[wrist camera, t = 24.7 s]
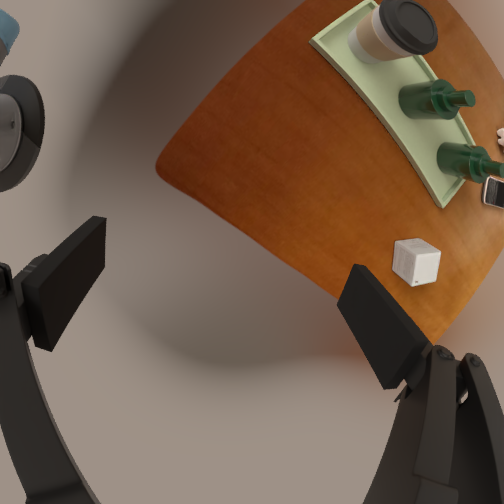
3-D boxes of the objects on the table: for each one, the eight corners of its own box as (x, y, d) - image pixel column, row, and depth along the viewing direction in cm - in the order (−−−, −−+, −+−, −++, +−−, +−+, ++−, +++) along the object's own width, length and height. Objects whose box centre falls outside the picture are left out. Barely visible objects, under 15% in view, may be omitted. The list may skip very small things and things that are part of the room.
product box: (415, 266, 52) (436, 282, 45) (390, 270, 51) (411, 287, 45) (419, 237, 50) (442, 251, 43) (394, 239, 49) (416, 254, 42)
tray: (307, 42, 36) (311, 38, 34) (364, 0, 32) (370, -4, 31) (436, 205, 48) (443, 208, 46) (475, 156, 45) (481, 158, 43)
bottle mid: (391, 97, 39) (448, 90, 26) (411, 78, 38) (467, 68, 24) (412, 126, 41) (471, 129, 28) (431, 106, 40) (488, 106, 27)
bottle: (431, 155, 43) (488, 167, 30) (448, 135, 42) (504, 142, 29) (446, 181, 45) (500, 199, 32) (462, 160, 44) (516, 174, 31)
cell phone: (483, 174, 46) (487, 175, 45) (506, 183, 48) (510, 184, 46) (479, 201, 48) (483, 203, 47) (502, 207, 50) (506, 209, 48)
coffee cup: (353, 13, 33) (399, -21, 19) (396, 44, 35) (451, 23, 21) (332, 48, 36) (379, 17, 22) (378, 80, 38) (436, 65, 24)
